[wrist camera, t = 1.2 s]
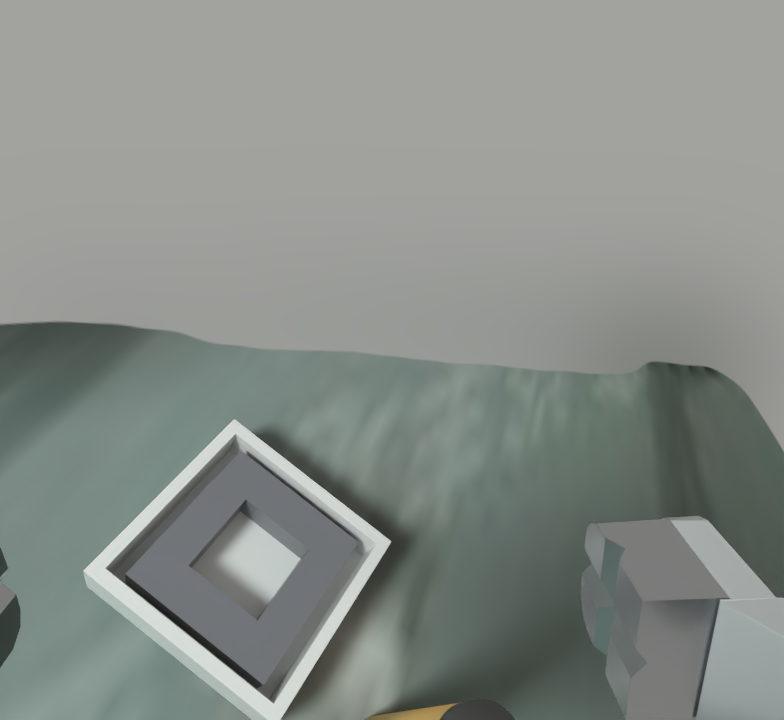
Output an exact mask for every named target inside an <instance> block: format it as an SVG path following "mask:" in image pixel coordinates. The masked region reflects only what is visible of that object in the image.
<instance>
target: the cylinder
mask: <svg viewBox="0 0 784 720" xmlns="http://www.w3.org/2000/svg"><path fill="white" fill-rule="evenodd" d="M365 720H515V719H514V718H513V717H512V715H511V714H510V713H509V712H508V711H507V710H506V709H505V708H504V707H502V706H501V705H499V704H497V703H495V702H493V701H490V700H474V701H468V702H461V703H454V704H448V705H441V706H434V707H428V708H421V709H415V710H408V711H401V712H395V713H388V714H381V715H375V716H371V717H369V718H367V719H365Z"/></svg>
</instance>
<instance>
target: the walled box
mask: <svg viewBox="0 0 784 720" xmlns="http://www.w3.org/2000/svg"><path fill="white" fill-rule="evenodd" d="M390 543H391V541H390V540H389V539H388V538H386V537H385V536H384V535H382V534H381V533H380V532H379V531H377V530H376V529H375V528H373V527H372V526H371V525H370V524H368V523H367V522H366V521H364V520H363V519H362V518H361V517H359V516H358V515H357V514H355V513H354V512H353V511H352V510H350V509H349V508H348V507H346V506H345V505H344V504H343V503H341V502H340V501H339V500H337V499H336V498H335V497H334V496H332V495H331V494H330V493H328V492H327V491H326V490H325V489H323V488H322V487H321V486H319V485H318V484H317V483H316V482H314V481H313V480H312V479H310V478H309V477H308V476H307V475H305V474H304V473H303V472H302V471H300V470H299V469H298V468H296V467H295V466H294V465H293V464H291V463H290V462H289V461H287V460H286V459H285V458H284V457H282V456H281V455H280V454H278V453H277V452H276V451H275V450H273V449H272V448H271V447H269V446H268V445H267V444H266V443H264V442H263V441H262V440H260V439H259V438H258V437H257V436H255V435H254V434H253V433H251V432H250V431H249V430H248V429H246V428H245V427H244V426H242V425H241V424H240V423H239V422H237V421H236V420H235V419H234V420H233V421H232V422H231V423H230V424H229V425H228V426H227V427H226V428H225V429H224V430H223V431H222V432H221V433H220V434H219V435H218V436H217V437H216V438H215V439H214V440H213V441H212V442H211V443H210V444H209V445H208V446H207V447H206V448H205V449H204V450H203V451H202V452H201V453H200V454H199V455H198V456H197V457H196V458H195V459H194V460H193V461H192V462H191V463H190V464H189V465H188V466H187V467H186V468H185V469H184V470H183V471H182V472H181V473H180V474H179V475H178V476H177V477H176V478H175V479H174V480H173V481H172V482H171V483H170V484H169V485H168V486H167V487H166V488H165V489H164V490H163V491H162V492H161V493H160V494H159V495H158V496H157V497H156V498H155V499H154V500H153V501H152V502H151V503H150V504H149V505H148V506H147V507H146V508H145V509H144V510H143V511H142V512H141V513H140V514H139V515H138V516H137V517H136V518H135V519H134V520H133V521H132V522H131V523H130V524H129V525H128V526H127V527H126V528H125V530H124V531H123V532H122V533H121V534H120V535H119V536H118V537H117V538H116V539H115V540H114V541H113V542H112V543H111V544H110V545H109V546H108V547H107V548H106V549H105V550H104V551H103V552H102V553H101V554H100V555H99V556H98V557H97V558H96V559H95V560H94V561H93V562H92V563H91V564H90V565H89V566H88V567H87V568H86V569H85V570H84V571H83V572H84V577H85V581H86V585H87V587H88V588H89V589H91V590H92V591H93V592H94V593H96V594H97V595H98V596H99V597H101V598H102V599H103V600H104V601H106V602H107V603H108V604H109V605H110V606H112V607H113V608H114V609H115V610H117V611H118V612H119V613H120V614H122V615H123V616H124V617H125V618H127V619H128V620H129V621H130V622H132V623H133V624H134V625H135V626H136V627H138V628H139V629H140V630H141V631H143V632H144V633H145V634H146V635H148V636H149V637H150V638H151V639H153V640H154V641H155V642H156V643H158V644H159V645H160V646H161V647H162V648H164V649H165V650H166V651H167V652H169V653H170V654H171V655H172V656H174V657H175V658H176V659H177V660H179V661H180V662H181V663H182V664H184V665H185V666H186V667H187V668H188V669H190V670H191V671H192V672H193V673H195V674H196V675H197V676H198V677H200V678H201V679H202V680H203V681H205V682H206V683H207V684H208V685H210V686H211V687H212V688H213V689H215V690H216V691H217V692H218V693H219V694H221V695H222V696H223V697H224V698H226V699H227V700H228V701H229V702H231V703H232V704H233V705H234V706H236V707H237V708H238V709H239V710H241V711H242V712H243V713H244V714H245V715H247V716H248V717H249V718H250V719H252V720H281V718H282V716H283V715H284V713H285V712H286V710H287V708H288V707H289V705H290V704H291V702H292V700H293V699H294V697H295V696H296V694H297V692H298V691H299V689H300V688H301V686H302V684H303V683H304V681H305V680H306V678H307V676H308V675H309V673H310V672H311V670H312V668H313V667H314V665H315V664H316V662H317V660H318V659H319V657H320V656H321V654H322V652H323V651H324V649H325V647H326V646H327V644H328V643H329V641H330V639H331V638H332V636H333V635H334V633H335V631H336V630H337V628H338V627H339V625H340V623H341V622H342V620H343V619H344V617H345V615H346V614H347V612H348V611H349V609H350V607H351V606H352V604H353V603H354V601H355V599H356V598H357V596H358V595H359V593H360V591H361V590H362V588H363V587H364V585H365V583H366V582H367V580H368V578H369V577H370V575H371V574H372V572H373V570H374V569H375V567H376V566H377V564H378V562H379V561H380V559H381V558H382V556H383V554H384V553H385V551H386V550H387V548H388V546H389V545H390Z"/></svg>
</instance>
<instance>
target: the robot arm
mask: <svg viewBox="0 0 784 720" xmlns="http://www.w3.org/2000/svg"><path fill="white" fill-rule="evenodd" d="M584 548H585V550H586V552H587V554H588V556H589V558H590V560H591V562H592V563H591V564H590V565H589V566H588V568H587V569H586V570H585V571H584V572H583V573H582V576H581V592H580V595H581V605H582V614H583V618H584V622H585V625H586V629H587V632H588V634H589V637H590V639H591V642H592V644H593V646H594V647H595V648H597V649H598V650H599V651H601V652H602V653H603V654H605V655H606V656H607V663H606V671H605V675H606V677H607V679H608V682H609V684H610V686H611V688H612V691H613V693H614V695H615V698H616V700H617V702H618V704H619V707H620V709H621V711H622V714H623V716H624V718H625V720H784V598H776V597H775V595H774V594H773V593H772V592H771V591H770V590H769V589H768V588H767V586H766V585H765V584H764V583H763V582H762V581H761V580H760V579H759V577H758V576H757V575H756V574H755V573H754V572H753V571H752V570H751V568H750V567H749V566H748V565H747V564H746V563H745V562H744V561H743V559H742V558H741V557H740V556H739V555H738V554H737V553H736V551H735V550H734V549H733V548H732V547H731V546H730V545H729V544H728V542H727V541H726V540H725V539H724V538H723V537H722V536H721V535H720V533H719V532H718V531H717V530H716V529H715V528H714V527H713V526H712V524H711V523H710V522H709V521H708V520H707V519H704V518H702V517H700V516H687V517H672V518H662V519H656V520H634V521H612V522H590V523H589V526H588V528H587V531H586V537H585V546H584ZM7 569H8V567H7V564H6V561H5V558H4V556H3V553H2V550H1V548H0V667H1V666H2V664H3V663H4V661H5V660H6V658H7V657H8V656H9V654H10V653H11V651H12V650H13V648H14V644H15V641H16V638H17V635H18V632H19V629H20V606H19V603H18V599H17V596H16V594H15V593H14V592H13V591H11V590H10V589H9V588H8V587H7V586H5V585H4V584H3V583H2V582H1V581H2V579H3V577H4V575H5V573H6V571H7Z"/></svg>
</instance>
